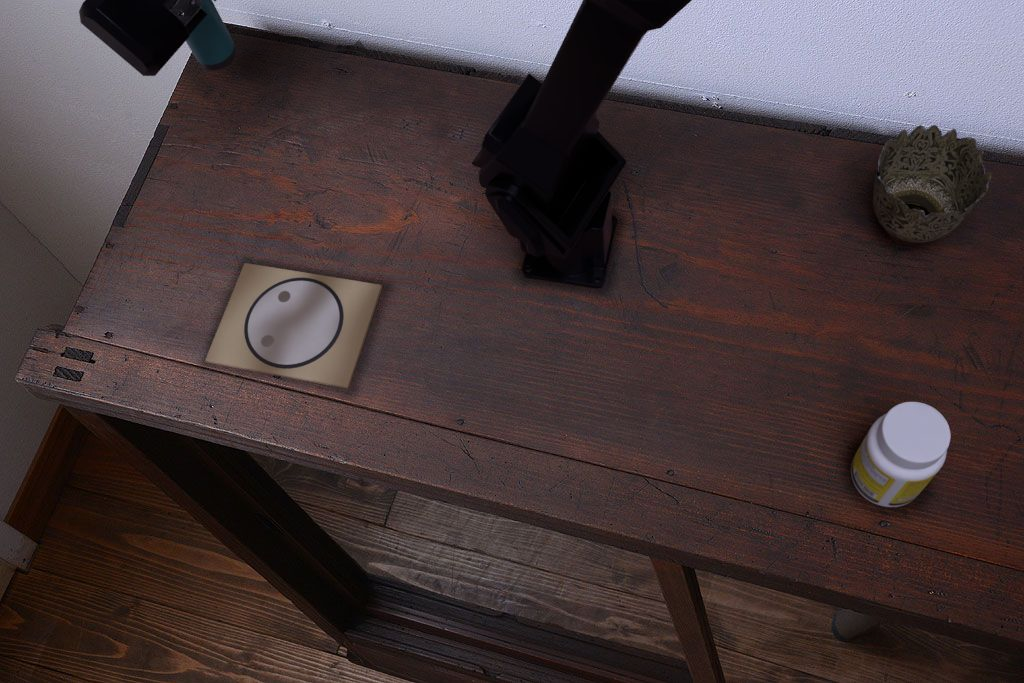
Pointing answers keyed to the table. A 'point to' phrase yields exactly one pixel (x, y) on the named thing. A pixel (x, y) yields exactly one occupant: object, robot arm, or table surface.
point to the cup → (927, 184)
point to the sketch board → (295, 325)
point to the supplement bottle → (901, 454)
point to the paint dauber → (212, 40)
